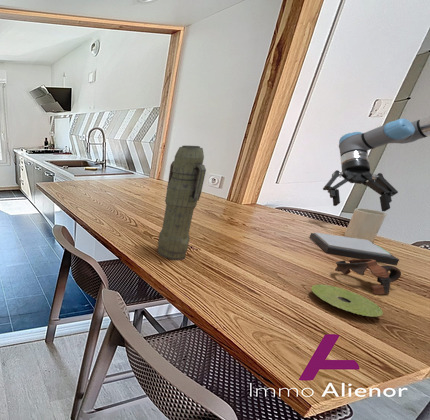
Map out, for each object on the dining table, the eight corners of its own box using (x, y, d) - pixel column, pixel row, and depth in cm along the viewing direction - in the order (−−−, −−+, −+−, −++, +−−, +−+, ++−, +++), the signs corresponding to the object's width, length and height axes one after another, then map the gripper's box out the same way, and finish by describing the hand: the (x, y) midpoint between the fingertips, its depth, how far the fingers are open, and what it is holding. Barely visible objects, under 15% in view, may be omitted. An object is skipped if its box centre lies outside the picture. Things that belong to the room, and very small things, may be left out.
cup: (366, 236, 96) (378, 210, 93) (378, 243, 90) (392, 216, 86) (340, 232, 99) (350, 207, 96) (350, 239, 93) (362, 212, 90)
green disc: (306, 284, 66) (308, 278, 65) (371, 303, 59) (374, 296, 58) (311, 306, 58) (314, 300, 57) (387, 331, 51) (391, 324, 50)
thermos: (166, 243, 88) (184, 144, 77) (195, 259, 78) (221, 147, 67) (147, 247, 85) (163, 145, 74) (175, 264, 75) (198, 148, 63)
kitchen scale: (368, 246, 87) (372, 239, 87) (396, 265, 76) (400, 257, 75) (309, 237, 95) (311, 231, 94) (326, 253, 83) (329, 245, 82)
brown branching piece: (364, 297, 62) (352, 264, 63) (331, 290, 71) (321, 262, 72) (423, 291, 60) (409, 257, 61) (381, 284, 69) (369, 255, 70)
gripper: (320, 156, 106) (323, 197, 99) (406, 160, 95) (417, 207, 88) (310, 167, 112) (312, 206, 105) (391, 172, 101) (400, 216, 94)
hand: (360, 207), depth 96 cm, fingers open, 13 cm apart
